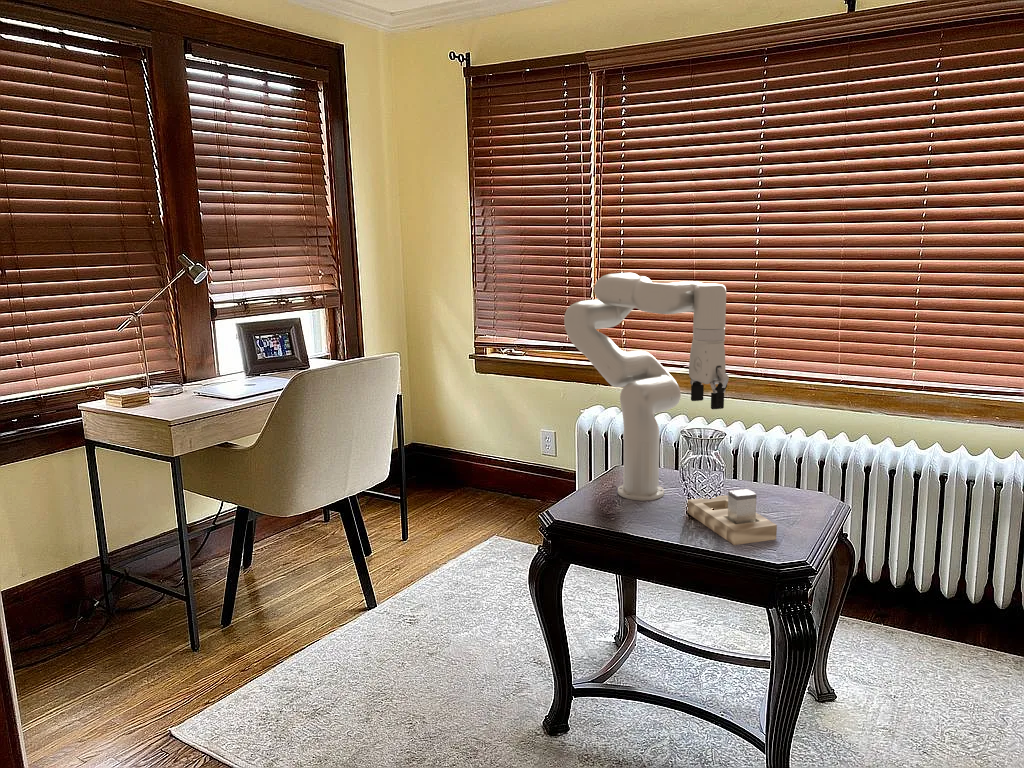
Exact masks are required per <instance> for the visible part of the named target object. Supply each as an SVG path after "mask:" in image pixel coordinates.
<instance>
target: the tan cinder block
mask: <svg viewBox="0 0 1024 768" xmlns="http://www.w3.org/2000/svg"><path fill="white" fill-rule="evenodd" d="M715 497H716V496H715ZM702 498H703V497H701V498H691V499H687V514H688V513H689V514H688V515H689V516H691V517H693V518H694V519H695V520H697V521H698V522H700V523H701V524H703V525H704V526H706V528H708V529H710V530H711V531H712V532H714V533H715V534H717V535H719V536H720V537H722V538H723V539H725V540H726V542H729V543H730V544H732V545H733V546H738V545H744V544H745V545H746V544H753V543H759V542H761V543H762V542H767V541H774V540H777V535H778V534H777V530H778V524H776V523H775V522H772V521H771V520H769V519H767V518H766V517H764V516H763V515H761V514H759V513H758V512H756V521H755V522H751V523H744V524H734V523H732V522H731V521H729V520H728V519H727V518H728V494H727V495H718V496H717V497H716V498H711V499H702ZM711 508H713V509H714V510H712V509H711Z"/></svg>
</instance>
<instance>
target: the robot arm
mask: <svg viewBox="0 0 1024 768" xmlns="http://www.w3.org/2000/svg"><path fill="white" fill-rule="evenodd" d="M593 291H594V295H595V297H596V299H586V300H580V301H576V302H574V303H572V304H570V305H569V306H568V307H567V309H566V311H565V313H564V316H563V317H564V318H563V320H564V323H563V324H564V328H565V332H566V335H567V337H568V338H569V340H570V342H571V343H572V344H573V346H574V347H575V348H576V349H577V350H578V351H580V352H581V354H582V355H583V356H585V357H586V359H587V360H588V361H589V362H590V363H591V364H592V366H593V368H594V369H596V370H597V371H598V373H599V374H600V376H602V378H604V379H605V381H606V382H607V383H608V384H609V385H610V386H612V387H615V388H622V390H621V392H620V395H619V403H620V407H621V412H622V421H623V423H622V424H623V466H622V467H623V473H622V478H623V480H622V481H623V482H622V484H620V485H619V486H618V488H617V494H618V495H619V496H620V497H622V498H624V499H626V500H627V499H628V500H631V501H643V502H644V501H645V502H646V501H654V500H659V499H660V498H663V497H664V496H665V489H664V488H663V487H662V486H661V485H660V483H659V482H660V481H659V478H660V427H659V424H658V422H657V420H656V418H655V417H656V416H655V413H660V412H664V411H665V412H666V411H668V410H671V409H673V408H675V407H676V406H677V405H679V403H680V401H681V388H680V386H679V384H678V383H677V380H676V379H675V378H674V377H673V376H672V375H671V374H670V372H669V371H668V370H667V369H666V368H665V367H664V366H663V364H661V363H660V362H659V360H658V359H656V357H655V356H654V355H652V354H651V353H650V352H648V351H645V350H641V349H635V350H629V351H628V350H622V349H621V348H620V347H619V346H618V345H617V344H616V343H615V342H614V340H612V339H611V337H609V336H608V335H606V334H604V333H602V332H601V331H599V330H602V329H610V328H614V327H616V326H618V325H619V324H621V322H623V320H624V319H625V318H626V317H627V316H628V315H629V314H630V313H631V312H632V311H633V310H634V309H637V310H639V311H641V312H644V313H645V312H646V313H652V314H659V315H674V314H682V313H690V312H692V313H693V314H692V315H693V320H692V321H693V323H692V325H693V326H692V327H693V328H692V342H691V346H690V354H689V363H688V377H689V379H690V381H689V382H690V385H691V386H690V400H691V402H699V401H700V402H701V401H703V400H704V389H705V387H704V386H705V385H710V388H711V390H712V392H711V393H710V409H711V410H721V409H724V407H725V393H726V390H727V388H728V383H729V379H730V378H729V375H728V374H727V372H726V349H725V341H726V319H727V318H726V316H727V314H726V312H727V288H726V286H725V285H724V284H721V283H704V282H700V281H696V280H695V281H694V280H691V281H690V280H689V281H679V282H678V281H675V282H653V281H652V280H651V279H650V278H649V277H647V276H645V275H638V274H637V273H634V272H618V273H616V272H615V273H608V274H605V275H602V276H601V277H600V278H598V279H597V281H596V282H595V284H594V289H593Z"/></svg>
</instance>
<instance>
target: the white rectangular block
mask: <svg viewBox="0 0 1024 768" xmlns="http://www.w3.org/2000/svg"><path fill="white" fill-rule="evenodd" d="M757 495H758V494H757V493H755V492H754V491H752V490H750V489H748V488H745V489H744V488H743V489H734V490H728V494H727V496H728V518H727V519H728V520H729V521H731V522H732V523H734V524H744V523H751V522H755V521H756V513H757Z"/></svg>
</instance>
